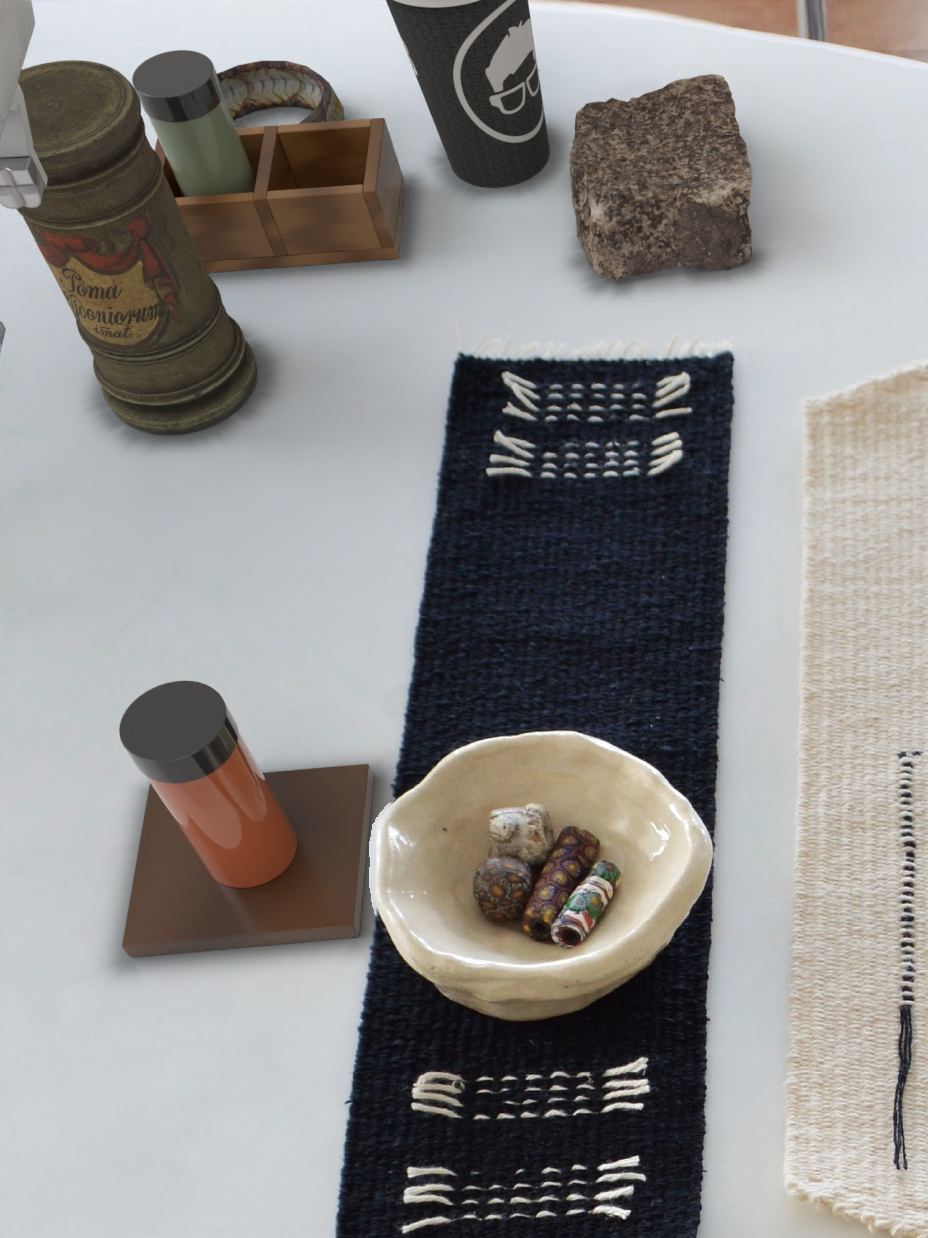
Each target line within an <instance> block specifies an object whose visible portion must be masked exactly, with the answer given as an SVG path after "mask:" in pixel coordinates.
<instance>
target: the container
mask: <svg viewBox="0 0 928 1238" xmlns="http://www.w3.org/2000/svg"><path fill="white" fill-rule="evenodd" d="M18 83H19V85H20V87H21V89H22V92H23V95H24V100H25V105H26V110H27V115H28V120H29V125H30V130H31V135H32V140H33V148H34V150H35V152H36V154H37V157H38V159H39V161H40V163H41V165H42V167H43V169H44V171H45V173H46V175H47V177H48V180H47V186H46V189H45V192H44V196H43V199H42V202H41V204H40V205H39V206H38V207H35V208H28V207H26V206H23V207H21V208H19V209H16V211H17V212H18V213H19V215H20V216H22V218H23V220H24V222H25V224H26V226H27V228H28V229H29V231H30V234H31V235H32V238H33V239H34V241H35V243H36V246H37V247H38V250H39V252H40V253H41V255H42V257H43V259H44V261H45V263H46V264H47V267H48V268H49V270H50V271H51V274H52V275H53V277H54V279H55V281H56V283H57V284H58V287H59V289H60V291H61V293H62V294H63V297H64V298H65V300H66V303H67V305H68V306H69V308H70V310H71V312H72V314H73V316H74V319H75V323H76V327H77V331H78V334H79V336H80V338H81V339H82V341H83V342H84V344H86V345H87V347H88V349H89V350H90V353H91V355H92V357H93V358H92V368H93V373H94V376H95V378H96V380H97V382H98V384H99V385H100V386H101V393H102V395H103V398H104V401H105V402H106V404H107V406H108V408H109V409H110V410H111V411H112V412H113V413H114V415H116V417H117V418H119V420H120V421H122V422H123V423H125V424H126V425H127V426H130V427H131V428H133V429H135V430H138V431H141V432H144V433H148V434H155V435H181V434H182V435H183V434H188V433H193V432H198V431H201V430H204V429H207V428H209V427H213V426H214V425H216V424H218V423H220V422H222V421H224V420H226V419H227V418H229V417H230V416H232V415H233V414H235V413H236V412H237V411H238V410H240V409H241V408H242V406H243V405H245V403H247V401H248V400H249V399H250V397H251V396H252V394H253V392H254V390H255V388H256V385H257V381H258V364H257V363H258V362H257V357H256V355H255V352H254V350H253V348H252V347H251V345H250V343H249V342H248V341H247V340H246V339H245V334H244V331H243V330H242V328H241V326H240V325H239V323H238V322H237V320H235V319H234V318H233V317H232V316H230V315H229V314H228V312H227V310H226V307H225V305H224V302H223V300H222V294H221V291H220V289H219V287H218V285H217V283H216V282H215V281H214V280H213V278H212V277H211V276H210V275H209V273H207V271H206V268H205V266H204V264H203V262H202V260H201V258H200V256H199V253H198V251H197V248H196V246H195V244H194V241H193V239H192V237H191V235H190V233H189V230H188V228H187V226H186V223H185V221H184V219H183V216H182V214H181V211H180V209H179V206H178V204H177V202H176V200H175V197H174V195H173V193H172V190H171V188H170V186H169V184H168V181H167V179H166V177H165V175H164V173H163V165H162V161H161V159H160V157H159V155H158V154H157V153H156V152H155V148H153V147H152V146H151V142H150V141H149V139H148V136H147V134H146V123H145V120H144V118H143V115H142V104H141V102H140V99H139V96H138V94H137V92H136V90H135V88H134V86H133V83H132V82H131V81H130V80H129V79H128V78H127V77H126V75H123V73H121V72H120V71H119V70H117V69H115V68H113V67H112V66H109V65H106V64H105V63H104V64H103V63H101V62H100V63H99V62H95V61H90V60H79V59H78V60H77V59H76V60H75V59H73V60H72V59H70V60H67V59H66V60H57V61H56V60H55V61H49V62H45V63H39V64H35V65H32V66H29V67H28V66H27V67H25V68H22V70H21V73H20V76H19V79H18Z"/></svg>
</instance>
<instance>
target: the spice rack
mask: <svg viewBox="0 0 928 1238" xmlns="http://www.w3.org/2000/svg"><path fill="white" fill-rule="evenodd" d="M236 128H237V131H238V134H239V136H240V139H241V141H242V144H243V146H244V149H245V151H246V154H247V156H248V159H249V161H250V164H251V167H252V169H253V172H254V174H255V177H256V184H255V190H254V193H253V192H249V193H235V194H221V195H207V196H193V197H183V194H182V192H181V190H180V187H179V185H178V183H177V181H176V178H175V176H174V174H173V171H172V169H171V167H170V164H169V162H168V160H167V158H166V155H165V153H164V151H163V148H162V146H161V144H160V141H159V139H158V137H157V136H156V143H155V146H154V150H155V152H156V153H157V154H158V155H159V157H160V159H161V161H162V165H163V173H164V175H165V177H166V179H167V181H168V184H169V186H170V188H171V190H172V193H173V195H174V197H175V200H176V202H177V204H178V206H179V209H180V211H181V214H182V216H183V219H184V221H185V223H186V226H187V228H188V230H189V233H190V235H191V237H192V239H193V241H194V244H195V246H196V248H197V251H198V253H199V256H200V258H201V260H202V262H203V264H204V266H205V268H206V271H207V273H208V274H209V273H221V272H233V271H235V272H236V271H248V270H262V269H276V268H287V267H301V266H315V265H330V264H343V263H356V262H357V263H358V262H370V261H383V260H385V261H386V260H396V259H399V257H400V256H399V254H400V245H401V236H402V226H403V215H404V208H405V207H404V206H405V195H406V187H407V186H406V185H407V184H406V181H405V179H404V175H403V172H402V169H401V166H400V163H399V160H398V157H397V153H396V150H395V147H394V144H393V140H392V137H391V135H390V131H389V128H388V125H387V121H386V119H385V117H373V118H362V119H347V120H346V119H345V120H344V121H332V122H317V123H303V124H299V123H291V124H279V125H278V124H273V125H259V126H257V125H256V126H244V127H236Z"/></svg>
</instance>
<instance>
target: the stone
mask: <svg viewBox="0 0 928 1238" xmlns="http://www.w3.org/2000/svg"><path fill="white" fill-rule="evenodd" d="M571 141H572V147H571V149H570V151H569V155H568V159H569V162H568V163H569V173H570V174H569V175H570V187H571V203H572V208H573V212H574V216H575V223H576V237H577V239H578V240H579V242H580V247H581V249H582V250H583V252H584V253H585V260H586V262H587V263H588V265H589V267H590V268H591V269H593V270H594V271H595V272H596V273H597V274H598V275H599V276H600V277H601V278H604V279H605V280H606V279H607V280H609V281H619V280H621V279H623V278H629V277H641V276H646V275H651V274H654V273H658V272H661V271H666V270H671V269H676V268H680V267H683V268H686V269H695V270H705V269H706V270H724V271H730V270H732V269H733V268H735V267H740V266H743V265H745V264H747V263H748V262H750V259H751V258H752V255H753V247H752V245H753V241H752V233H753V231H752V230H753V229H752V228H751V224H750V219H749V213H748V210H749V209H748V208H749V206H750V205H751V202H750V197H751V189H752V183H753V182H752V181H753V175H752V169H751V168H752V165H751V162H750V161H749V155H748V148H747V142H746V141H745V139H744V138H743V137H742V136H741V133H740V125H739V123H738V120H737V118H736V105H735V100H734V98H733V93H732V90H731V89H730V86H729V83H728V81H727V80H726V79H725V77H724V76H722V75H719V74H714V73H711V74H709V73H708V74H701V75H697V76H694V77H690V78H681V79H677V80H674V81H671V82H670V83H667V84H666V85H665V86H663V87H662V88H659V89H655V90H653V91H650V92H646V93H644V94H642V95H640V96H639V97H631V98H630V99H629V100H628V101H625V100H621V99H617V98H614V97H610V98H609V99H608V100H605V101H593V102H592V101H591V102H587V103H585V104H584V106H583V107H582V108H581V109H579V110H578V111H577V112H576V114H575V117H574V137H573V139H571Z"/></svg>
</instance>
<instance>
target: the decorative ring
mask: <svg viewBox="0 0 928 1238" xmlns="http://www.w3.org/2000/svg"><path fill="white" fill-rule="evenodd" d="M217 75H218V78H219V81H220V83H221V86H222V88H223V95H224V98H225V100H226V103H227V106H228V108H229V111H230V113H231V116H232V118H233V121H234V122H235V121H236V120H238V119H241V118H244V117H246V116H248V115H251V114H253V113H256V112H259V111H264V110H269V109H274V108H301V109H305V110H308V111H312V112H311V114H309V115H308V116H307V117H304V119H303V120H301V121H300V122H299V123H298V124H303V123H317V122H332V121H345V110H344V105H343V104H342V102H341V101H340V99H339V96H338V95H337V93H336V91H335V90H334V88H333V87H332V85H331V83H330V82H329V81H328V80H326V79H325V78H324V76H322V75H321V74H320V73H318V72H316V71H315V70H314V69H312V68H311V67H309V66H307V65H304V64H300V63H297V62H292V61H288V60H258V61H252V62H248V63H247V62H246V63H242V64H238V65H235V66H232V67H229V68H228V69H225V70H223V71H221V72H218V73H217Z"/></svg>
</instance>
